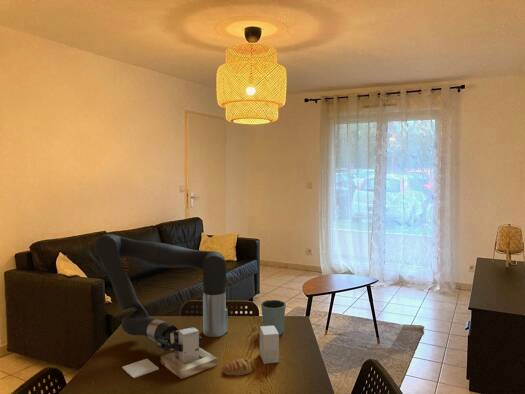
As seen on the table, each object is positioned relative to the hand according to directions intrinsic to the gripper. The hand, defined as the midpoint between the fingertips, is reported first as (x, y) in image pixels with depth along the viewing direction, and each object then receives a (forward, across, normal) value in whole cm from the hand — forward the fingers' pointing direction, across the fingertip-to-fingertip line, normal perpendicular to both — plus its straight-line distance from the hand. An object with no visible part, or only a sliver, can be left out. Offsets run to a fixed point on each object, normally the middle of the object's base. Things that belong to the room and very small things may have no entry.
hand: (191, 344), depth 140 cm
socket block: (-2, 0, +8) cm, 8 cm away
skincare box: (-2, 0, +8) cm, 8 cm away
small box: (+17, +21, +8) cm, 28 cm away
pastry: (+15, +7, +8) cm, 18 cm away
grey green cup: (+4, +41, +8) cm, 42 cm away
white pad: (-12, -12, +8) cm, 19 cm away
